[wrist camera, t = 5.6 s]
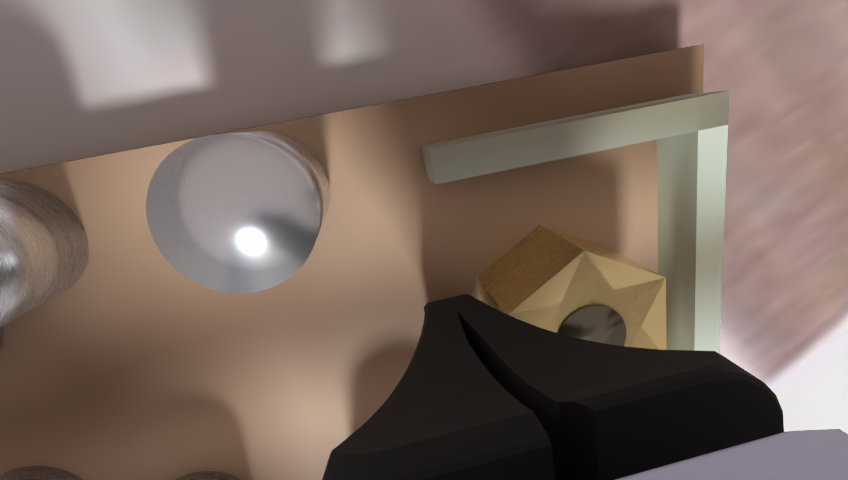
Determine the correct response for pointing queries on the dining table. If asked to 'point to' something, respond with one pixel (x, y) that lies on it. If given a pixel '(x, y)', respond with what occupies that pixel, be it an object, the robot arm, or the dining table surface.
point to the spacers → (177, 230)
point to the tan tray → (357, 268)
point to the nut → (578, 290)
